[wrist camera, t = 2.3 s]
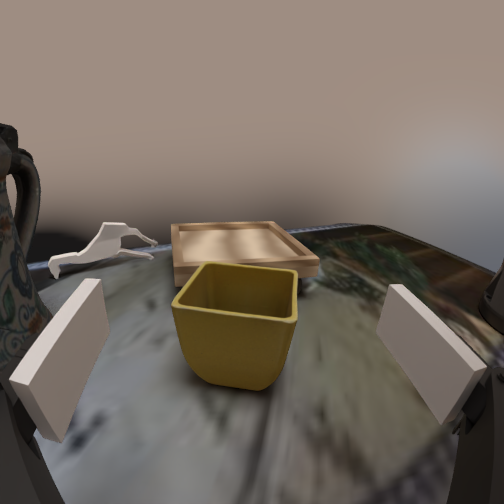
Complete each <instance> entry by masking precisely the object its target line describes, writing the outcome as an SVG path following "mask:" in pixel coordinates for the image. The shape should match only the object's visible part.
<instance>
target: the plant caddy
mask: <svg viewBox="0 0 504 504" xmlns="http://www.w3.org/2000/svg"><path fill="white" fill-rule="evenodd" d="M171 239H172V254H173V267H174V279H175V287H180V286H185V284H186V283H187V282H188V281H189V279H190V278H191V277H192V275H193V274H194V273H195V272H196V270H197V269H198V268H199V266H201V264H202V263H204V262H205V261H213V262H222V263H231V264H241V265H250V266H259V267H270V268H280V269H290V270H295V271H297V273H298V282H297V294H298V293H299V292H300V290H301V286H302V281H301V278H305V277H316V276H317V273H318V266H319V260H320V259H319V258H318V257H317V256H316V255H314V254H313V253H312V252H311V251H310V250H308V249H307V248H306V247H305V246H303V245H302V244H301V243H300V242H298V241H297V240H296V239H295V238H293V237H292V236H291V235H290V234H288V233H287V232H286V231H285V230H283V229H282V228H281V227H279V226H278V225H277V224H276V223H274V222H273V221H271V222H270V221H268V222H267V221H266V222H218V223H189V224H188V223H187V224H171Z"/></svg>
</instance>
